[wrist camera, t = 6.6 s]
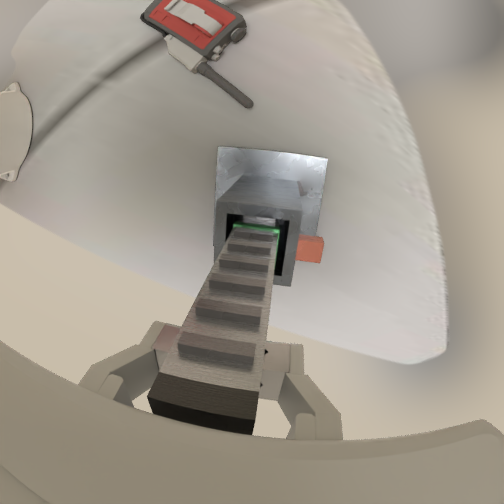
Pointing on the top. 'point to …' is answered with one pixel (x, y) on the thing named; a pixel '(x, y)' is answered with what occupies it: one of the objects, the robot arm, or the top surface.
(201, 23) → the walkie-talkie
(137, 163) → the top surface
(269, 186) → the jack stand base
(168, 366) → the column
